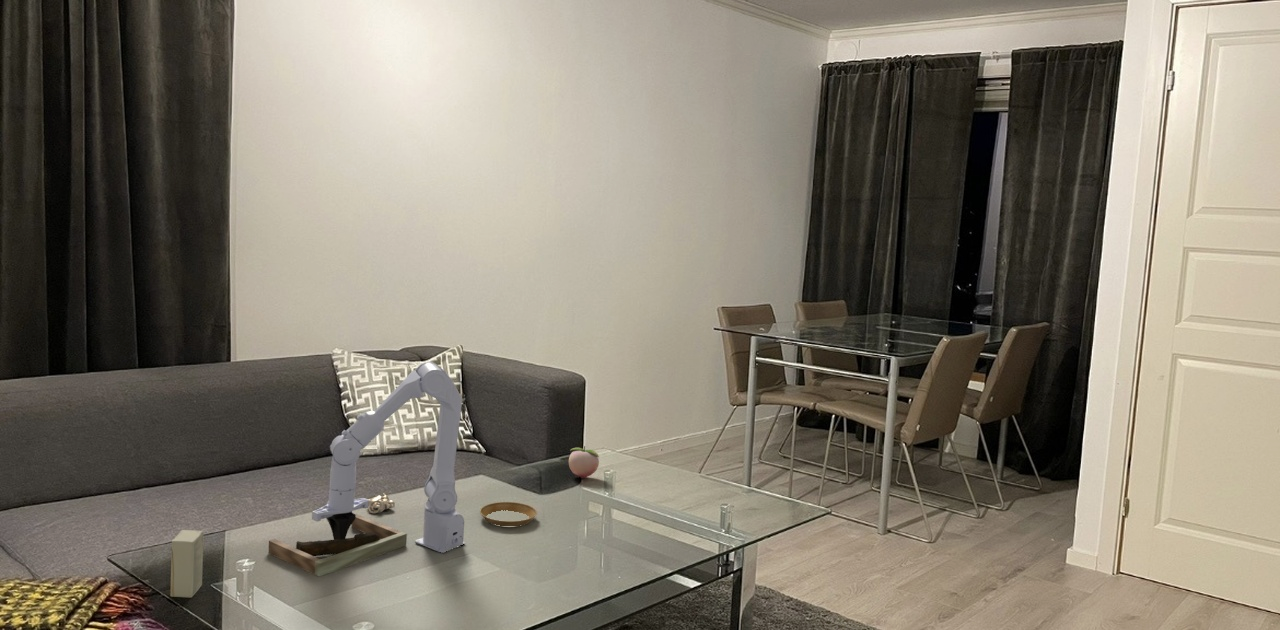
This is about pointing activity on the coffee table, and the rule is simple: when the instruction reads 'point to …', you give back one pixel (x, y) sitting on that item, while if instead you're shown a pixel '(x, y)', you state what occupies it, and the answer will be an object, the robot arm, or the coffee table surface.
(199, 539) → the skincare box
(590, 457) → the decorative fruit
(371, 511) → the ornament
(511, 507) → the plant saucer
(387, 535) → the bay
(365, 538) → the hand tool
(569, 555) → the coffee table surface
